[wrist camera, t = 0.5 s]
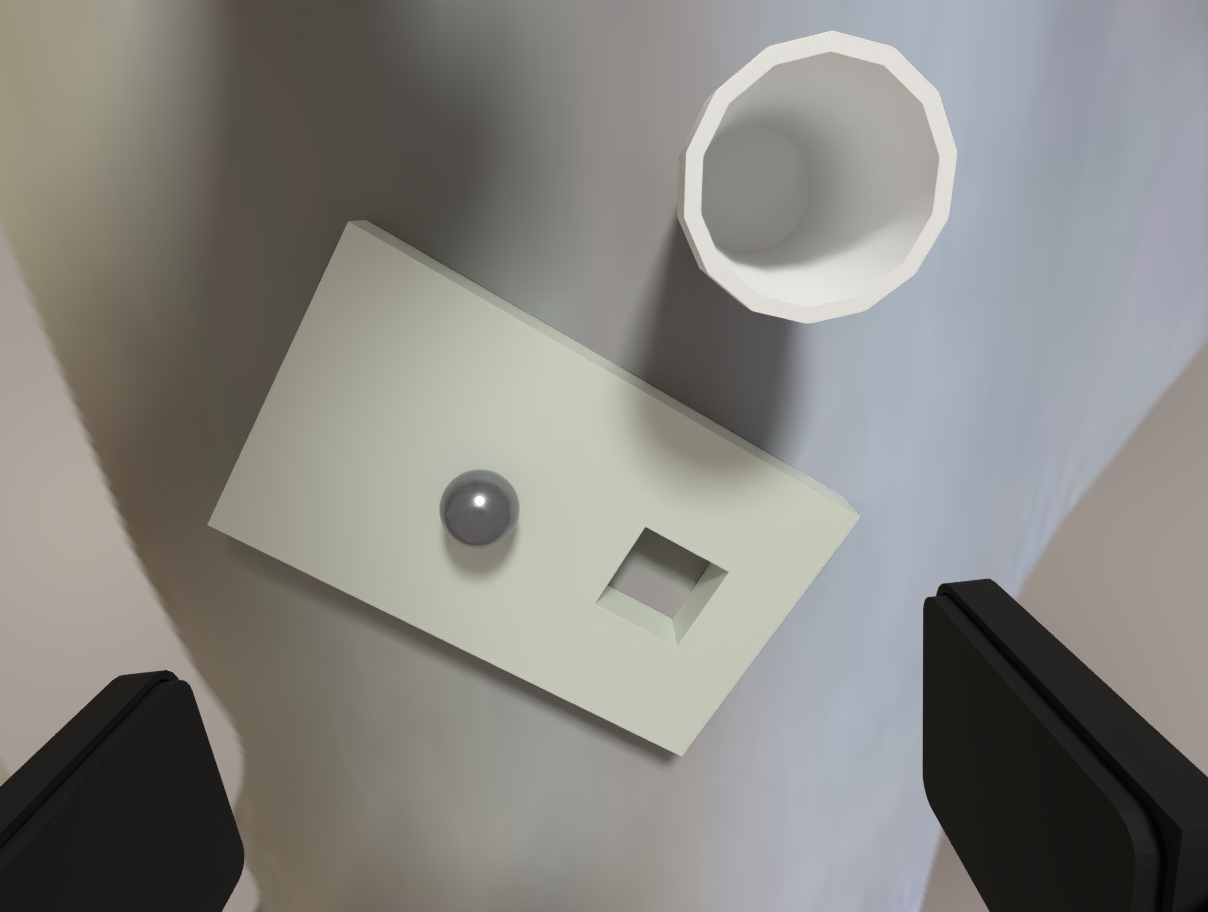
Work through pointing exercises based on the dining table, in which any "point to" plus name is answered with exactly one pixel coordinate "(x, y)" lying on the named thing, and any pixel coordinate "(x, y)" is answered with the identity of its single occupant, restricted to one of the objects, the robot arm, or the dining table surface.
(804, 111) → the foam cup
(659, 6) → the dining table surface
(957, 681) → the robot arm
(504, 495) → the steel ball
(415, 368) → the hole board
